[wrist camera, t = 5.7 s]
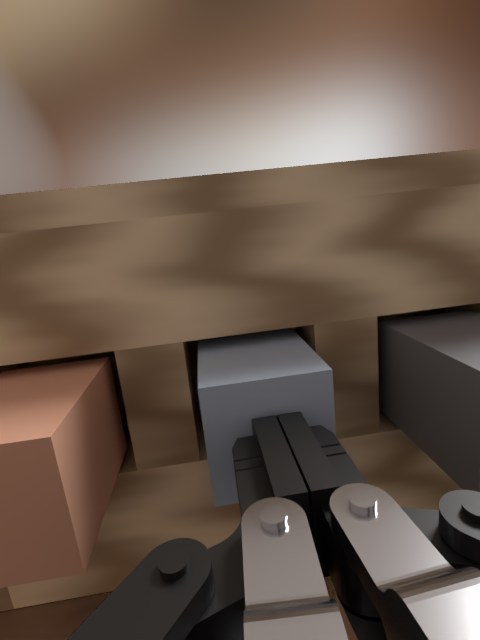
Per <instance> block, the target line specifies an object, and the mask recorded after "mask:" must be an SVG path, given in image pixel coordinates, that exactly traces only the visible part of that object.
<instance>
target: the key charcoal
mask: <svg viewBox="0 0 480 640" xmlns="http://www.w3.org/2000/svg"><path fill="white" fill-rule="evenodd" d="M378 357H379V404H380V410H381V411H382V412H383V413H384V414H385V415H386V416H387V417H388V418H389V419H390V420H391V421H392V422H393V423H394V424H395V425H397V426H398V427H399V428H400V429H401V430H402V431H403V432H404V433H405V434H406V435H407V436H408V437H409V438H410V439H411V440H412V441H413V442H414V443H415V444H416V445H417V446H418V447H419V448H420V449H421V450H422V451H423V452H424V453H425V454H427V455H428V456H429V457H430V458H431V459H432V460H433V461H434V462H435V463H436V464H437V465H438V466H439V467H440V468H441V469H442V470H443V471H444V472H445V473H446V474H447V475H448V476H449V477H450V478H451V479H452V480H453V481H454V482H455V483H457V484H458V485H459V486H460V487H461V488H462V489H463V490H472V491H477V492H480V313H479V312H476V311H472V310H460V311H453V312H445V313H438V314H430V315H423V316H415V317H408V318H400V319H392V320H385V321H378Z"/></svg>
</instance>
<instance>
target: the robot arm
mask: <svg viewBox="0 0 480 640" xmlns="http://www.w3.org/2000/svg"><path fill="white" fill-rule="evenodd" d="M252 432H253V436H247V437H240V438H237V440H236V442H235V444H234V446H233V448H232V454H233V462H234V470H235V478H236V486H237V494H238V500H239V507H240V513H241V521H240V524H239V525H238V527H237V529H236V530H235V531H234V533H233V534H231V535H230V536H229V537H228V538H227V539H225V540H224V541H222V542H220V543H219V544H216V545H214V546H212V547H210V548H208V549H207V548H206V546H205V545H204V544H202V543H201V542H199V541H198V540H195V539H191V538H177V539H172V540H169V541H167V542H164V543H162V544H160V545H159V546H157V547H156V548H154V549H153V550H152V551H151V552H150V553H149V554H148V555H147V556H146V557H145V558H144V559H143V560H142V561H141V562H140V563H139V564H138V565H137V566H136V567H135V568H134V569H133V571H132V572H131V573H130V574H129V575H128V576H127V577H126V578H125V579H124V580H123V581H122V582H121V583H120V584H119V585H118V586H117V587H116V588H115V590H114V591H113V592H112V593H111V594H110V595H109V596H108V597H107V598H106V599H105V600H104V601H103V602H102V603H101V604H100V605H99V606H98V607H97V609H96V610H95V611H94V612H93V613H92V614H91V615H90V616H89V617H88V618H87V619H86V620H85V621H84V622H83V623H82V624H81V625H80V626H79V628H78V629H77V630H76V631H75V632H74V633H73V634H72V635H71V636H70V637H69V638H68V639H67V640H348V637H349V639H350V640H480V492H477V491H472V490H455V491H451V492H448V493H446V494H445V495H443V496H442V498H441V499H440V501H439V510H428V509H415V508H406V507H402V506H399V505H398V504H397V503H396V501H395V500H394V499H393V498H392V497H391V496H390V495H389V494H388V493H387V492H385V491H384V490H382V489H380V488H378V487H375V486H372V485H369V484H368V483H367V482H366V480H365V479H364V477H363V476H362V474H361V473H360V471H359V470H358V468H357V467H356V465H355V464H354V462H353V461H352V460H351V458H350V457H349V455H348V454H347V453H346V451H345V449H344V448H343V446H342V445H341V444H340V442H339V440H338V439H337V438H336V436H335V435H334V433H333V432H331V431H330V430H328V429H326V428H325V427H323V426H321V425H316V426H310V427H309V425H308V423H307V422H306V420H305V418H304V416H303V415H302V413H301V412H300V411H299V412H292V413H286V414H279V415H276V416H275V415H273V416H266V417H260V418H253V419H252ZM328 576H330V577H331V580H332V582H333V585H334V587H335V600H334V599H332V600H330V598H329V595H328V591H327V588H326V584H325V580H324V577H328ZM346 632H347V633H346ZM347 634H348V636H347Z"/></svg>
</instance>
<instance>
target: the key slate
mask: <svg viewBox="0 0 480 640" xmlns="http://www.w3.org/2000/svg"><path fill="white" fill-rule="evenodd" d="M198 395H199V402H200V409H201V416H202V423H203V430H204V437H205V444H206V451H207V458H208V465H209V472H210V479H211V486H212V493H213V500H214V507H218V506H224V505H230V504H236V503H239V500H238V494H237V486H236V478H235V470H234V462H233V454H232V448H233V446H234V444H235V442H236V440H237V438H240V437H247V436H253V432H252V419H253V418H260V417H266V416H273V415H275V416H276V415H279V414H286V413H292V412H299V411H300V412H301V413H302V415H303V416H304V418H305V420H306V422H307V423H308V425H309V427H310V426H316V425H321V426H323V427H325V428H326V429H328V430H330V431H331V432H333V433H334V435H335V436H336V429H335V409H334V390H333V371H332V369H331V368H330V367H329V366H328V365H327V364H326V363H325V362H324V361H323V359H322V358H321V357H320V356H319V355H318V354H317V353H316V352H315V351H314V350H313V349H312V348H311V347H310V346H309V345H308V344H307V343H306V342H305V341H304V340H303V339H302V338H301V337H300V336H299V335H298V334H297V333H296V332H295V331H294V330H293V329H292V328H285V329H277V330H270V331H262V332H254V333H247V334H239V335H232V336H224V337H216V338H209V339H201V340H198Z"/></svg>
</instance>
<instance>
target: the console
mask: <svg viewBox="0 0 480 640" xmlns="http://www.w3.org/2000/svg"><path fill="white" fill-rule="evenodd" d="M460 310H472V311H476V312H479V313H480V149H472V150H461V151H450V152H440V153H430V154H419V155H409V156H399V157H388V158H378V159H367V160H357V161H348V162H336V163H327V164H317V165H305V166H296V167H285V168H274V169H264V170H254V171H244V172H233V173H223V174H212V175H202V176H192V177H182V178H171V179H161V180H151V181H140V182H129V183H120V184H109V185H99V186H89V187H78V188H68V189H58V190H47V191H36V192H26V193H16V194H6V195H0V373H1V372H3V371H8V370H15V369H23V368H30V367H38V366H45V365H53V364H60V363H68V362H76V361H83V360H91V359H98V358H106V357H109V359H110V364H111V369H112V374H113V379H114V384H115V389H116V394H117V399H118V404H119V410H120V415H121V420H122V425H123V430H124V435H125V440H126V445H127V449H126V452H125V455H124V458H123V461H122V464H121V467H120V470H119V473H118V476H117V479H116V482H115V485H114V488H113V491H112V493H111V496H110V499H109V502H108V505H107V508H106V511H105V514H104V517H103V520H102V523H101V526H100V529H99V532H98V535H97V538H96V541H95V544H94V547H93V550H92V553H91V556H90V559H89V562H88V565H87V568H86V571H85V573H83V574H77V575H72V576H66V577H60V578H55V579H49V580H43V581H38V582H32V583H26V584H21V585H15V586H9V587H4V588H0V611H5V610H11V609H16V608H22V607H27V606H33V605H38V604H44V603H49V602H55V601H60V600H66V599H71V598H77V597H82V596H88V595H93V594H99V593H104V592H110V591H114V590H115V588H116V587H117V586H118V585H119V584H120V583H121V582H122V581H123V580H124V579H125V578H126V577H127V576H128V575H129V574H130V573H131V572H132V571H133V569H134V568H135V567H136V566H137V565H138V564H139V563H140V562H141V561H142V560H143V559H144V558H145V557H146V556H147V555H148V554H149V553H150V552H151V551H152V550H153V549H154V548H156V547H157V546H159V545H160V544H162V543H164V542H167V541H169V540H172V539H177V538H191V539H195V540H198V541H199V542H201V543H202V544H204V545H205V546H206V548H207V549H208V548H210V547H212V546H214V545H216V544H219V543H220V542H222V541H224V540H225V539H227V538H228V537H229V536H230V535H231V534H233V533H234V531H235V530H236V529H237V527H238V525H239V524H240V521H241V513H240V507H239V503H236V504H230V505H224V506H218V507H214V500H213V493H212V486H211V479H210V472H209V465H208V458H207V451H206V444H205V437H204V430H203V423H202V416H201V409H200V402H199V395H198V340H201V339H209V338H216V337H224V336H232V335H239V334H247V333H254V332H262V331H270V330H277V329H285V328H292V329H293V330H294V331H295V332H296V333H297V334H298V335H299V336H300V337H301V338H302V339H303V340H304V341H305V342H306V343H307V344H308V345H309V346H310V347H311V348H312V349H313V350H314V351H315V352H316V353H317V354H318V355H319V356H320V357H321V358H322V359H323V361H324V362H325V363H326V364H327V365H328V366H329V367H330V368H331V369H332V371H333V390H334V409H335V429H336V438H337V439H338V440H339V442H340V444H341V445H342V446H343V448H344V449H345V451H346V453H347V454H348V455H349V457H350V458H351V460H352V461H353V462H354V464H355V465H356V467H357V468H358V470H359V471H360V473H361V474H362V476H363V477H364V479H365V480H366V482H367V483H368V484H369V485H372V486H375V487H378V488H380V489H382V490H384V491H385V492H387V493H388V494H389V495H390V496H391V497H392V498H393V499H394V500H395V501H396V503H397V504H398V505H399V506H402V507H406V508H415V509H428V510H439V501H440V499H441V498H442V496H443V495H445V494H446V493H448V492H451V491H455V490H463V489H462V488H461V487H460V486H459V485H458V484H457V483H455V482H454V481H453V480H452V479H451V478H450V477H449V476H448V475H447V474H446V473H445V472H444V471H443V470H442V469H441V468H440V467H439V466H438V465H437V464H436V463H435V462H434V461H433V460H432V459H431V458H430V457H429V456H428V455H427V454H425V453H424V452H423V451H422V450H421V449H420V448H419V447H418V446H417V445H416V444H415V443H414V442H413V441H412V440H411V439H410V438H409V437H408V436H407V435H406V434H405V433H404V432H403V431H402V430H401V429H400V428H399V427H398V426H397V425H395V424H394V423H393V422H392V421H391V420H390V419H389V418H388V417H387V416H386V415H385V414H384V413H383V412H382V411H381V410H380V404H379V357H378V321H385V320H392V319H400V318H408V317H415V316H423V315H430V314H438V313H445V312H453V311H460Z"/></svg>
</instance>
